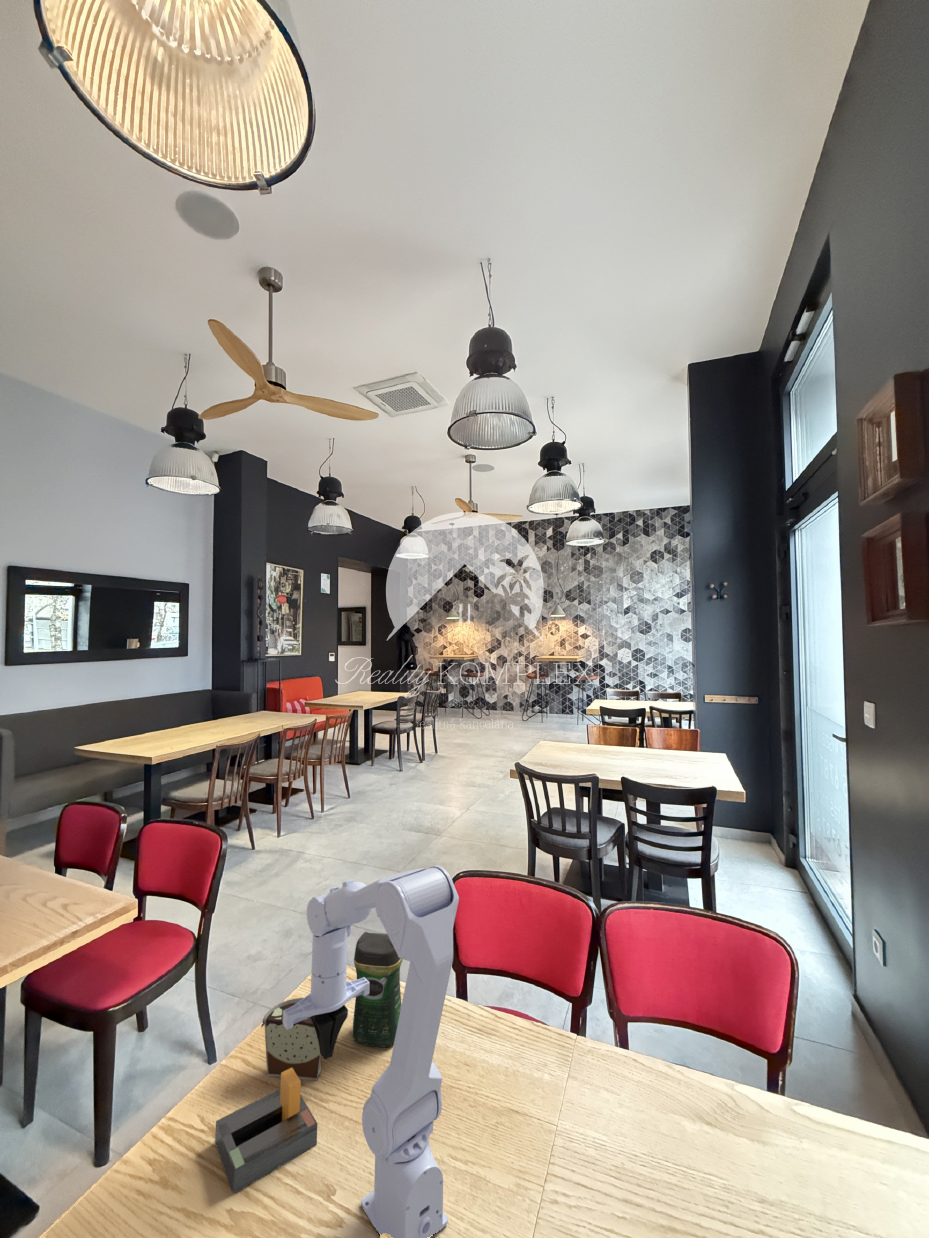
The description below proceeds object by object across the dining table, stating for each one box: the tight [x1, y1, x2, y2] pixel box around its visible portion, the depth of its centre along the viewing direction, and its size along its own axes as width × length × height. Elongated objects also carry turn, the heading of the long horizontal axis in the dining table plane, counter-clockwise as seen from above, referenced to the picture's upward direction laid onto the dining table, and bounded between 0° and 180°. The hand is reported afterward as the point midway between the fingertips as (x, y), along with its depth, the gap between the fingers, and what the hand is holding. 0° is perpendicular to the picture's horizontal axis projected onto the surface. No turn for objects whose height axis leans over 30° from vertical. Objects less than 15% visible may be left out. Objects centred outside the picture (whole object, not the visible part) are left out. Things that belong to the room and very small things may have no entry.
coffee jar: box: [351, 931, 404, 1048], centre depth 103 cm, size 10×8×19 cm
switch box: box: [214, 1088, 318, 1195], centre depth 79 cm, size 10×12×3 cm
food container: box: [261, 997, 323, 1081], centre depth 95 cm, size 12×6×10 cm, turn 84°
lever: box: [279, 1068, 302, 1122], centre depth 81 cm, size 4×2×7 cm, turn 39°
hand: (326, 1054), depth 85 cm, fingers closed
